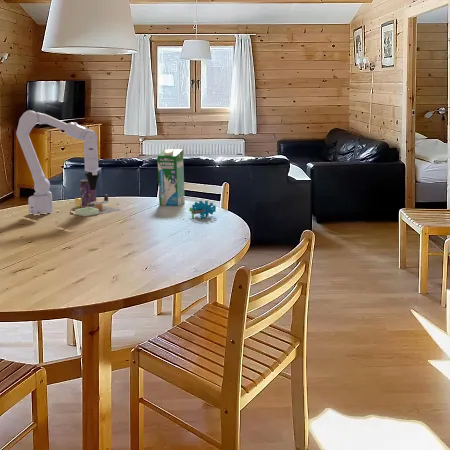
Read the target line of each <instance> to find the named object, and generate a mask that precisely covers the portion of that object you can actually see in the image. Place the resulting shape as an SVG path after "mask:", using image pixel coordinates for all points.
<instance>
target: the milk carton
mask: <svg viewBox="0 0 450 450" xmlns="http://www.w3.org/2000/svg"><path fill="white" fill-rule="evenodd" d="M184 169H185V167H184V149H183V148H182V149H179V148H177V149H176V148H164V149H163V150H162V151H161V152H160V153H159V154H158V155H157V175H158V177H157V178H158V200H159V201H158V202H159V203H158V205H159V206H166V207H167V206H168V207H179V206H181V205H183V204H184V203H186V201H185V200H186V199H185V198H186V197H185V175H184V174H185V172H184Z"/></svg>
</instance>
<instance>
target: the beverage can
mask: <svg viewBox="0 0 450 450" xmlns="http://www.w3.org/2000/svg"><path fill="white" fill-rule="evenodd" d="M79 195H80V196H79V198H81V200H82V206H83V205H85V206H84V207H86V206H87V203H88V202H93V201H97V190H96V189H95V190H90V187H89V183H88V180H87V178H85V179H80V182H79Z"/></svg>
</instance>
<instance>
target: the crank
mask: <svg viewBox="0 0 450 450" xmlns="http://www.w3.org/2000/svg"><path fill="white" fill-rule="evenodd" d="M97 204H102V205H103V204H109V194H107V193H106V194H103V200H96V202H88V203H87V205H88V206H93V205H97Z"/></svg>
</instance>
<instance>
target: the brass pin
mask: <svg viewBox="0 0 450 450" xmlns="http://www.w3.org/2000/svg"><path fill="white" fill-rule="evenodd" d="M74 205H75V206H74V207H75V208H74V210H75V209H81V208H83V205H82V200H81V198H80V197H78V198H77V197H76V198H74Z"/></svg>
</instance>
